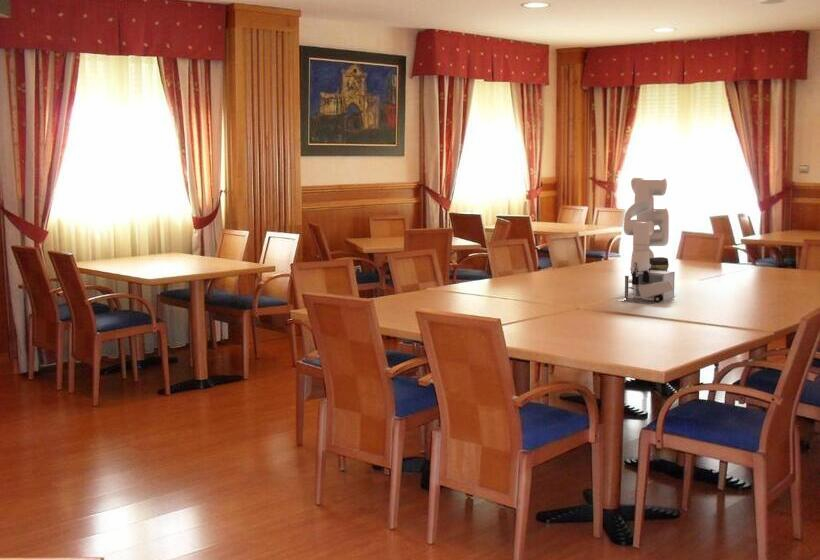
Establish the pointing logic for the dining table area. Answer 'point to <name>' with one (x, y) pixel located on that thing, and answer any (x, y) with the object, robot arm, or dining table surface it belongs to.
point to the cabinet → (654, 278)
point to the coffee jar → (659, 264)
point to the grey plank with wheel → (655, 290)
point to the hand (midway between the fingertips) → (640, 283)
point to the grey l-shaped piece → (635, 300)
